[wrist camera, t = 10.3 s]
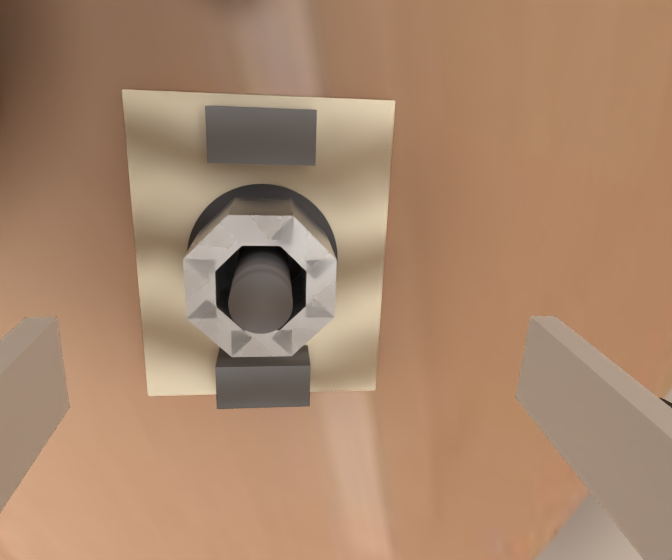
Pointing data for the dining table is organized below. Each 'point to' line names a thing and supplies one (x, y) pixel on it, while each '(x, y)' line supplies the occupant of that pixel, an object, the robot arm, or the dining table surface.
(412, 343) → the dining table surface
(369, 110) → the shaft stand
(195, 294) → the hub
